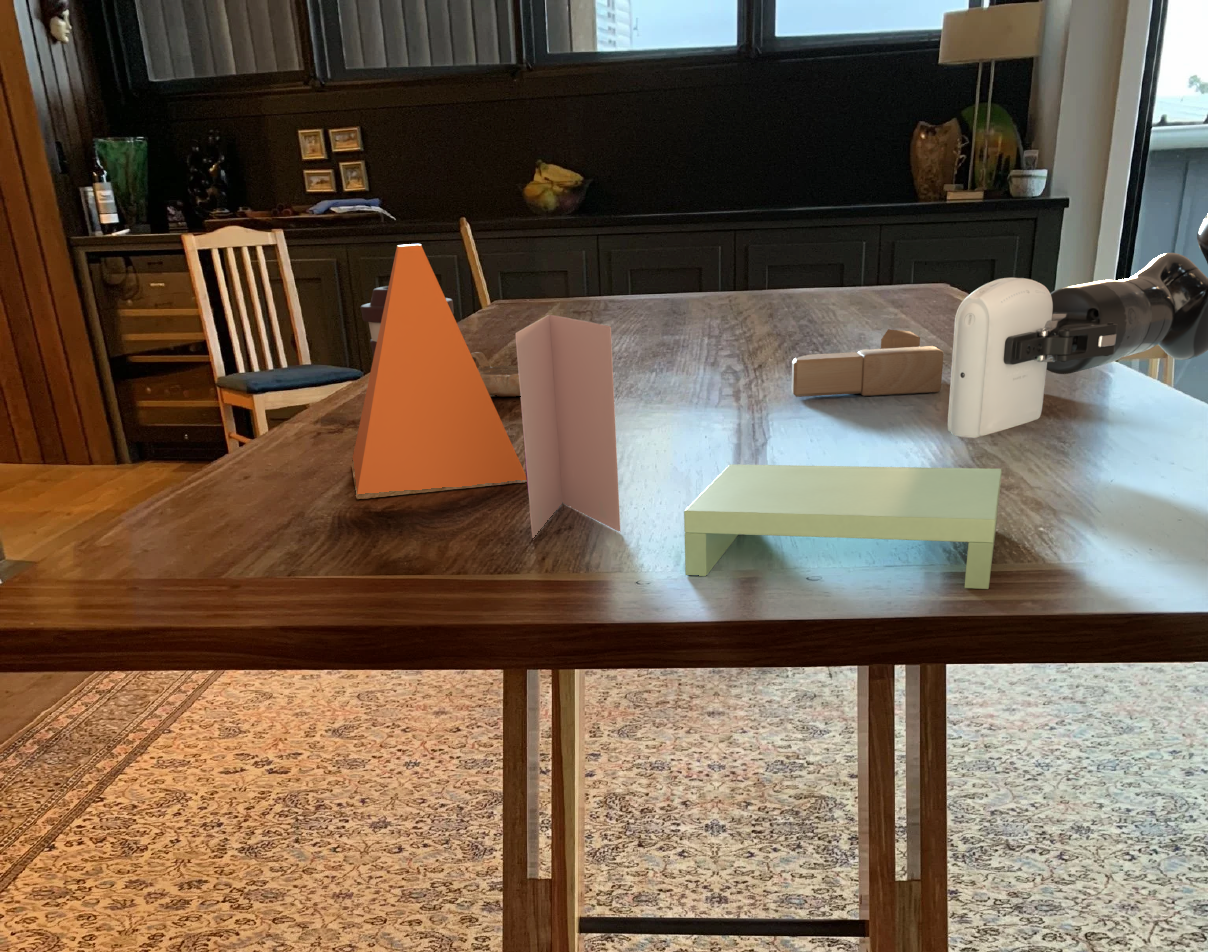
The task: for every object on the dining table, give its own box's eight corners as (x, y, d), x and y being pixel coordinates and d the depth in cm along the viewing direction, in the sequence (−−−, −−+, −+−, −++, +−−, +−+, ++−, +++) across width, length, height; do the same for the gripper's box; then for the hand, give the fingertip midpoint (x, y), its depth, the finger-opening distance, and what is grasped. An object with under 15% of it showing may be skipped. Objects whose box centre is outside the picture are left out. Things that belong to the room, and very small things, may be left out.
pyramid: (529, 482, 110) (509, 242, 100) (356, 500, 107) (319, 255, 98) (504, 449, 123) (485, 235, 114) (350, 464, 121) (318, 247, 111)
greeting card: (552, 502, 102) (538, 314, 95) (638, 501, 101) (630, 311, 94) (521, 540, 92) (503, 333, 85) (616, 539, 91) (605, 329, 84)
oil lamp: (560, 394, 152) (557, 353, 149) (515, 404, 147) (511, 361, 145) (496, 386, 160) (492, 347, 158) (451, 395, 156) (447, 355, 154)
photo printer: (980, 440, 103) (994, 285, 97) (939, 435, 106) (949, 283, 100) (1048, 421, 109) (1064, 273, 103) (1006, 416, 112) (1021, 272, 106)
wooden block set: (953, 341, 136) (794, 350, 137) (949, 393, 139) (793, 401, 139) (919, 323, 151) (777, 331, 152) (916, 370, 154) (776, 378, 154)
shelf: (995, 530, 88) (1002, 468, 86) (988, 589, 76) (995, 519, 74) (729, 522, 94) (729, 464, 92) (685, 575, 82) (683, 510, 80)
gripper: (1157, 373, 109) (1052, 402, 99) (1018, 362, 119) (911, 388, 109) (1170, 283, 105) (1063, 305, 96) (1026, 280, 115) (916, 299, 106)
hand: (983, 349), depth 103 cm, fingers closed on photo printer, 4 cm apart
